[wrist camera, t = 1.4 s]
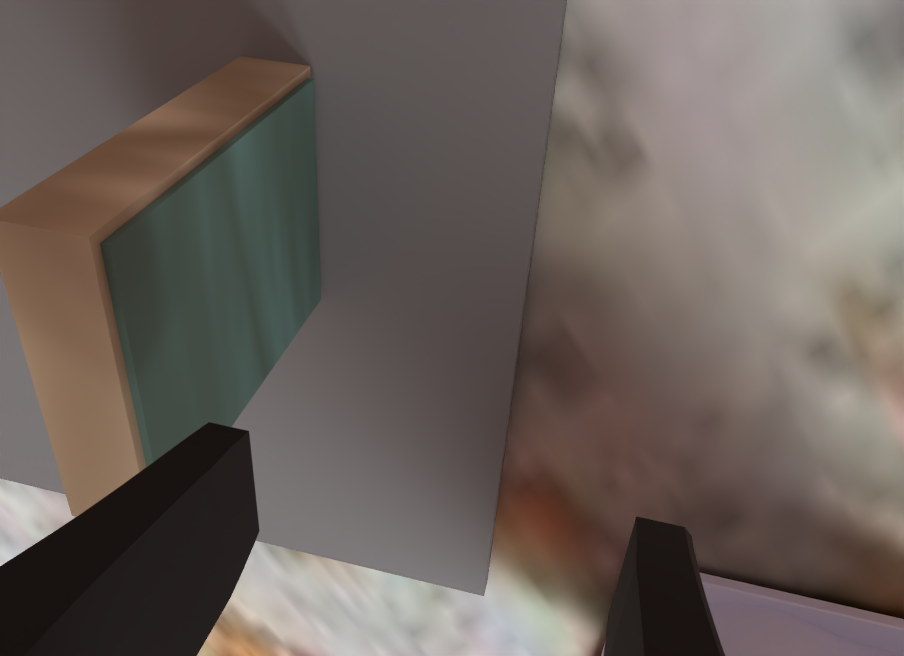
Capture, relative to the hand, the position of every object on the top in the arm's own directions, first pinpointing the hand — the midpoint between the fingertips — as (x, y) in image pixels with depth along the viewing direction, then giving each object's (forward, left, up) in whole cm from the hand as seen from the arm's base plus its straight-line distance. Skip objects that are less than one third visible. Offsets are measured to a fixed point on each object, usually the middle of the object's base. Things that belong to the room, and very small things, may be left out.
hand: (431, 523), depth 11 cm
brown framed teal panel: (+6, 0, -9) cm, 11 cm away
